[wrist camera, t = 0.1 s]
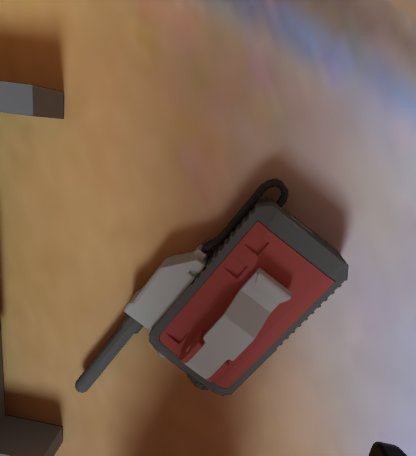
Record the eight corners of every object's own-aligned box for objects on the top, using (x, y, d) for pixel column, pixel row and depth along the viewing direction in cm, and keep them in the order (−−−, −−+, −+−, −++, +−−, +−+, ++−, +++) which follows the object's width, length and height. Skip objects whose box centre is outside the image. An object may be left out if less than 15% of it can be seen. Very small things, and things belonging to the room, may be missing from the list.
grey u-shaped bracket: (62, 442, 27) (31, 492, 23) (-12, 426, 28) (-54, 473, 24) (63, 92, 20) (19, 81, 16) (-36, 80, 21) (-101, 67, 17)
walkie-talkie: (246, 151, 20) (75, 367, 26) (245, 155, 16) (41, 413, 21) (359, 242, 21) (169, 435, 26) (387, 270, 17) (154, 492, 22)
